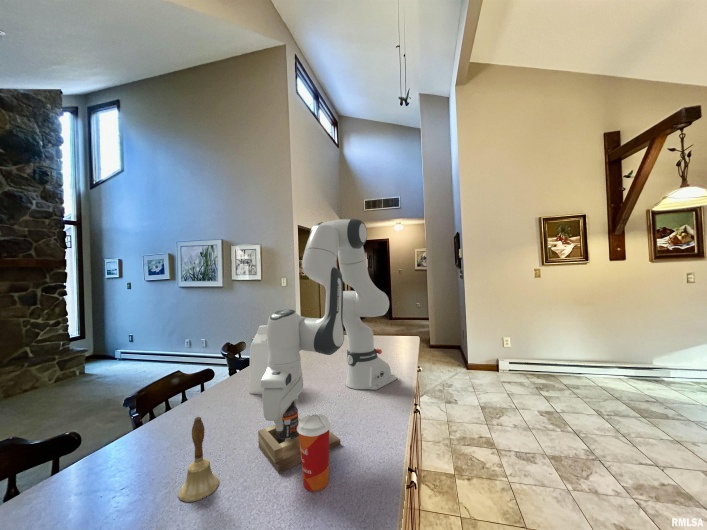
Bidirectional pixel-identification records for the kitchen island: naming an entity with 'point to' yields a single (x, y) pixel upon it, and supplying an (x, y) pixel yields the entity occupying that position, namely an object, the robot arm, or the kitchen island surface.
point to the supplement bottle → (289, 424)
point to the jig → (285, 448)
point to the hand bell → (198, 470)
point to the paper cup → (314, 451)
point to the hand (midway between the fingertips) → (287, 420)
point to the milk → (258, 360)
